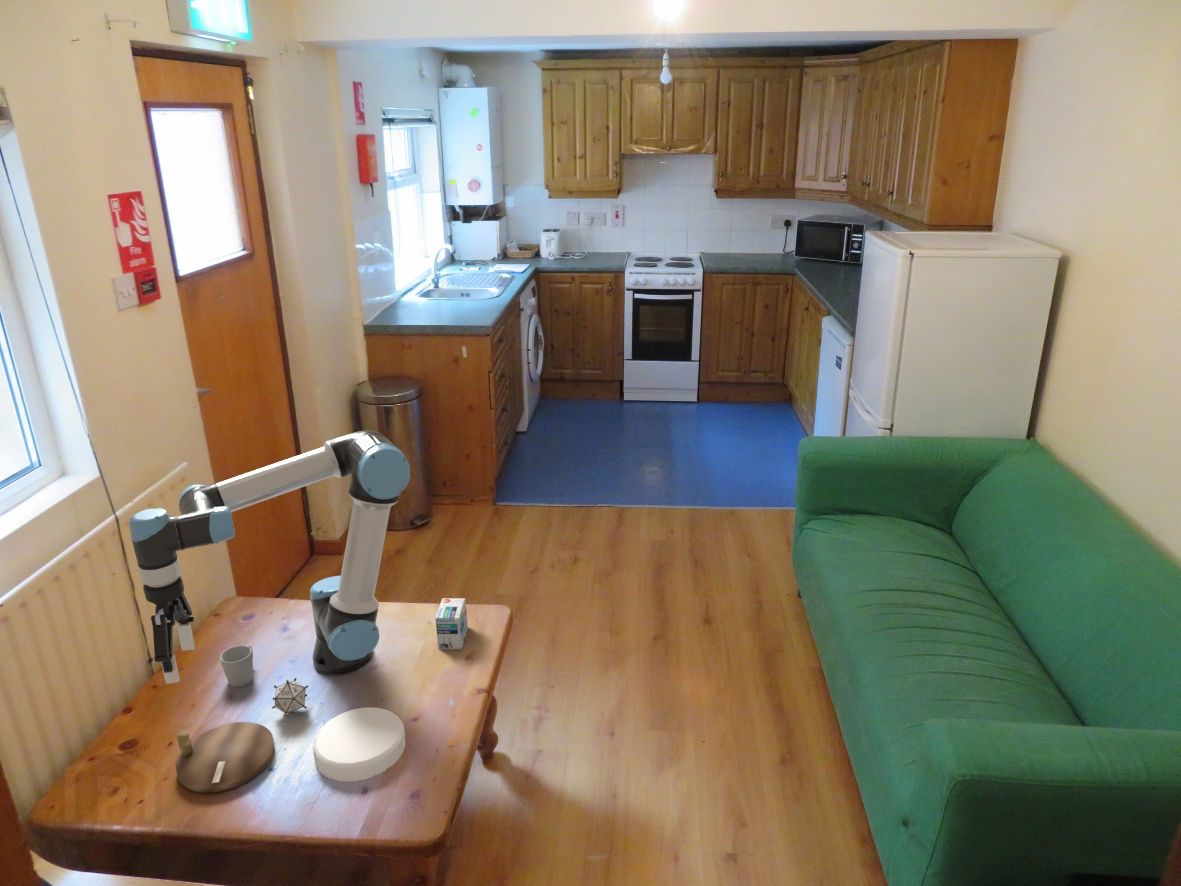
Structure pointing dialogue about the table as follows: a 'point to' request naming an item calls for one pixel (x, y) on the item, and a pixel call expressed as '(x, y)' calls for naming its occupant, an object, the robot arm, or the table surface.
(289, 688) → the game die
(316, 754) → the container
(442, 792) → the table surface
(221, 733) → the turntable
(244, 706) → the table surface
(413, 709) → the table surface
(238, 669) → the cup
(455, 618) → the light bulb box
